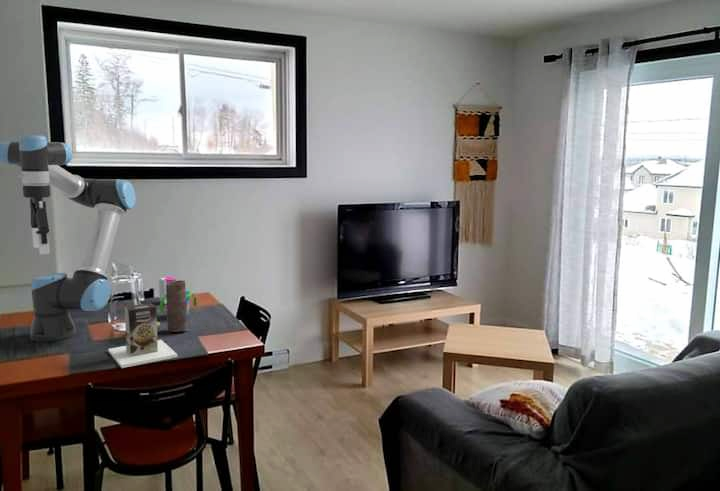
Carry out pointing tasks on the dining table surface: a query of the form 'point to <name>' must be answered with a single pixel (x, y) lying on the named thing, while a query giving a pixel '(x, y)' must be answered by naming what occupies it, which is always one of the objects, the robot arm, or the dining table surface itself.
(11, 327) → the dining table surface
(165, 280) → the supplement box
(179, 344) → the dining table surface
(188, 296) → the snack cup
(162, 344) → the pad
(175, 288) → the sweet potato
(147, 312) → the coffee box
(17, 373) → the dining table surface
